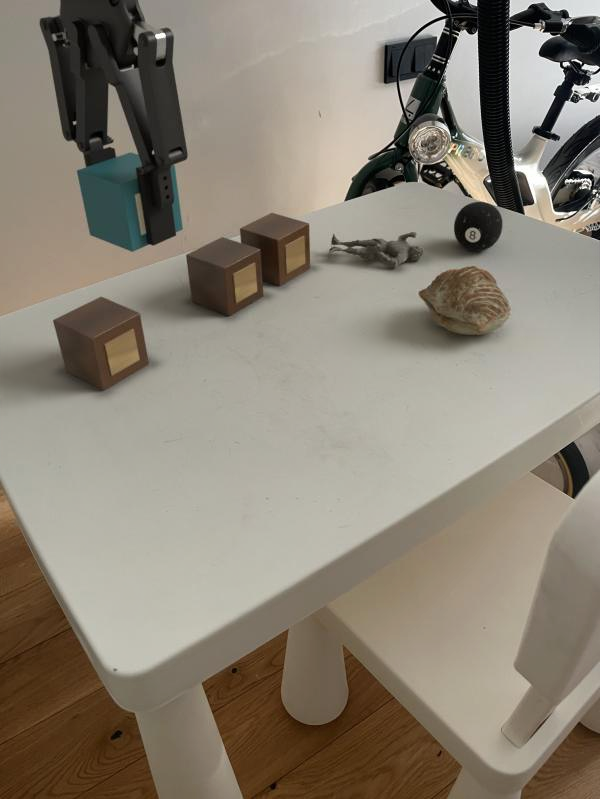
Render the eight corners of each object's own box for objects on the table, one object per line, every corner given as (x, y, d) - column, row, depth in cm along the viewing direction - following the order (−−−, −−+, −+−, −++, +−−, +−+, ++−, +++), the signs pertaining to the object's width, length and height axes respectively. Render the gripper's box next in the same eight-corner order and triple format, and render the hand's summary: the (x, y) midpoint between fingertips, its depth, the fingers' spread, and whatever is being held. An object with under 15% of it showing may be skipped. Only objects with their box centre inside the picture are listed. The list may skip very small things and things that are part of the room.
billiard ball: (503, 242, 97) (509, 198, 93) (493, 261, 92) (499, 215, 89) (458, 236, 99) (462, 192, 95) (446, 254, 95) (451, 209, 91)
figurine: (330, 221, 95) (424, 218, 92) (334, 244, 98) (425, 242, 95) (324, 254, 91) (421, 251, 89) (328, 277, 94) (423, 275, 92)
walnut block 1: (65, 371, 75) (52, 319, 72) (111, 345, 79) (101, 296, 75) (104, 391, 72) (92, 339, 68) (150, 364, 76) (141, 313, 72)
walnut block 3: (243, 273, 92) (239, 228, 88) (274, 256, 96) (271, 212, 92) (281, 286, 89) (278, 240, 85) (311, 268, 92) (310, 223, 89)
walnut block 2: (191, 301, 86) (185, 254, 83) (226, 282, 90) (222, 236, 86) (230, 317, 83) (225, 268, 80) (264, 296, 87) (261, 249, 83)
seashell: (464, 361, 75) (518, 331, 79) (469, 303, 71) (527, 274, 74) (403, 321, 81) (456, 295, 85) (405, 266, 77) (460, 240, 80)
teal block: (89, 235, 67) (76, 170, 63) (140, 214, 71) (130, 151, 67) (133, 252, 64) (122, 185, 60) (184, 230, 67) (176, 165, 64)
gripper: (216, -71, 51) (241, 242, 64) (52, -77, 61) (103, 195, 74) (132, -62, 46) (178, 273, 60) (-31, -69, 56) (40, 219, 70)
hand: (136, 229), depth 67 cm, fingers closed on teal block, 6 cm apart
